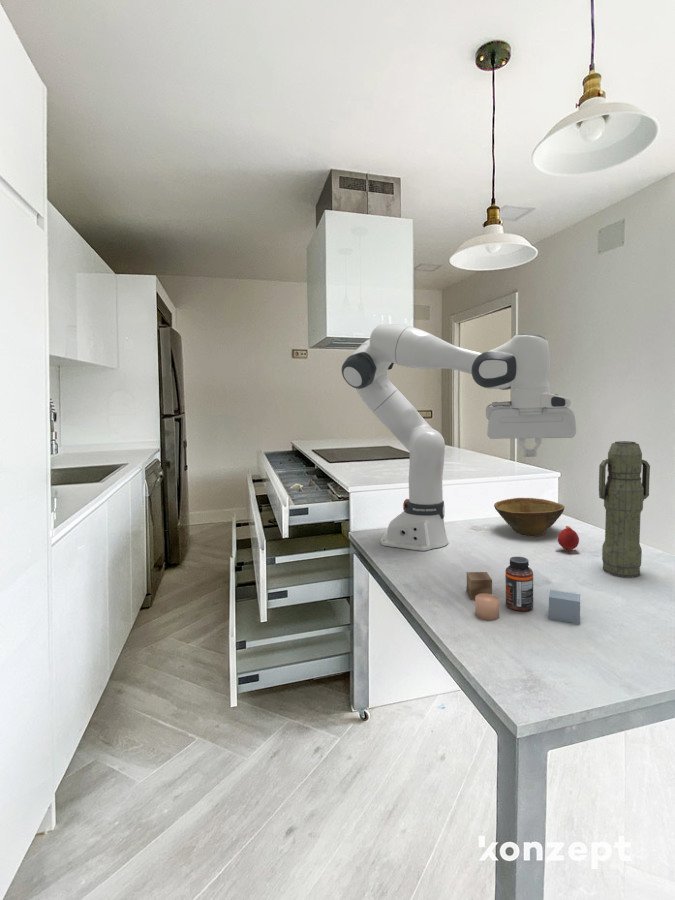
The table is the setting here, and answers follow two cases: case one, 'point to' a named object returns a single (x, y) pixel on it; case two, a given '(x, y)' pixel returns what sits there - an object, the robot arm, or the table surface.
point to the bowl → (529, 514)
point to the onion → (568, 539)
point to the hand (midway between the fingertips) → (529, 456)
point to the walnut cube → (478, 583)
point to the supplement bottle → (519, 584)
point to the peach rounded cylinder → (487, 606)
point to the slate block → (564, 606)
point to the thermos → (623, 507)
